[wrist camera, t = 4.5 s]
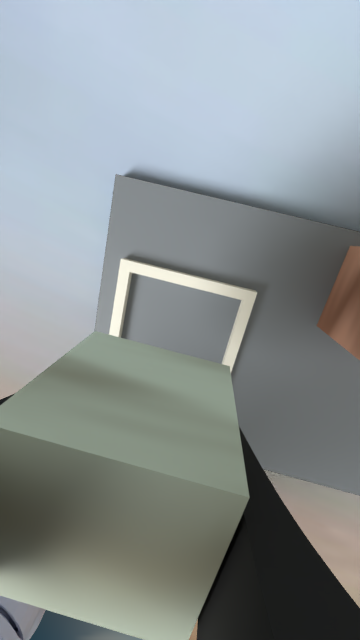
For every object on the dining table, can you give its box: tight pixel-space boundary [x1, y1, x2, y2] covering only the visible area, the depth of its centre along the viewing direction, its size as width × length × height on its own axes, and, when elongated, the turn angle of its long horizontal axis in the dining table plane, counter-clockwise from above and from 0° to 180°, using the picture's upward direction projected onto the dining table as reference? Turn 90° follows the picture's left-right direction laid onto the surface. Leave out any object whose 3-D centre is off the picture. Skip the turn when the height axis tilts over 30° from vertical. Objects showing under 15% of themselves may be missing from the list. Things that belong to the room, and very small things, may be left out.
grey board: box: [95, 174, 360, 496], centre depth 16 cm, size 16×20×1 cm
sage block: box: [0, 331, 250, 640], centre depth 7 cm, size 4×4×4 cm
